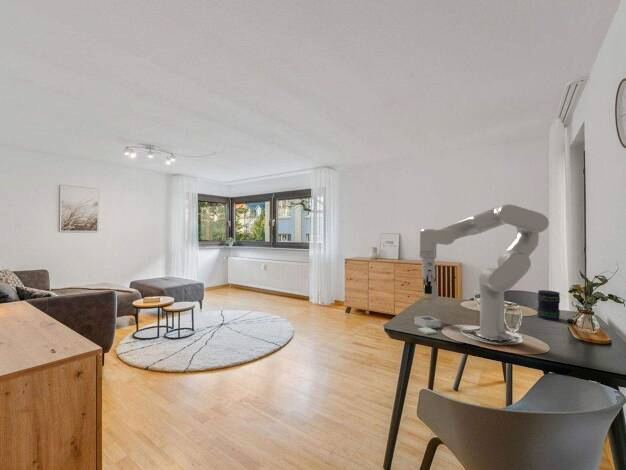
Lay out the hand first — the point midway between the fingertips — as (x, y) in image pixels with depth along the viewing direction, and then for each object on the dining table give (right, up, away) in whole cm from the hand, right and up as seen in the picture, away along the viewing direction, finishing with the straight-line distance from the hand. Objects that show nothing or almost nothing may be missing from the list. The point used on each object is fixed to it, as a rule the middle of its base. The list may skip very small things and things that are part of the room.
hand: (427, 292), depth 145 cm
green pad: (0, -19, 0) cm, 19 cm away
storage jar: (+78, -20, +25) cm, 84 cm away
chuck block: (+3, -19, +12) cm, 23 cm away
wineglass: (+10, -19, +22) cm, 30 cm away
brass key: (0, -3, 0) cm, 3 cm away
